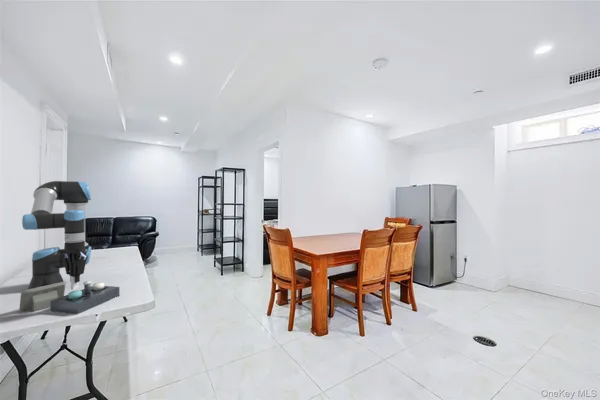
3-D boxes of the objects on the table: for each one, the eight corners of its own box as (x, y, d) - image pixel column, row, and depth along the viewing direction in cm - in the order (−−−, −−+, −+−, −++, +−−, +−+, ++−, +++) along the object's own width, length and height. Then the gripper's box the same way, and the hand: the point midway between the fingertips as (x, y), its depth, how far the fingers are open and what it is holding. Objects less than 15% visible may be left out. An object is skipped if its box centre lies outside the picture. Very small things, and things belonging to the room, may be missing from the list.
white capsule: (82, 294, 129) (82, 282, 129) (87, 292, 132) (87, 280, 132) (86, 294, 128) (86, 283, 128) (92, 292, 131) (92, 281, 131)
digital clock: (64, 299, 135) (64, 279, 135) (66, 304, 129) (66, 283, 129) (19, 309, 123) (19, 287, 123) (19, 315, 117) (19, 292, 117)
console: (50, 311, 121) (50, 300, 121) (95, 293, 143) (95, 285, 142) (78, 314, 118) (77, 303, 118) (119, 295, 140) (119, 286, 140)
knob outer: (65, 308, 122) (65, 293, 122) (76, 304, 127) (76, 290, 127) (74, 309, 121) (73, 294, 121) (84, 305, 126) (84, 290, 126)
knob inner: (90, 298, 134) (90, 285, 134) (99, 295, 139) (99, 282, 139) (98, 299, 133) (98, 285, 133) (106, 295, 138) (106, 282, 138)
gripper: (55, 242, 121) (55, 290, 122) (77, 243, 119) (78, 292, 120) (72, 239, 129) (72, 284, 129) (93, 240, 127) (93, 286, 127)
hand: (75, 288), depth 125 cm, fingers closed
